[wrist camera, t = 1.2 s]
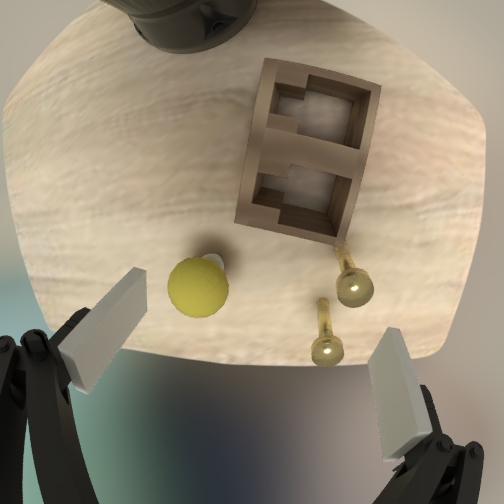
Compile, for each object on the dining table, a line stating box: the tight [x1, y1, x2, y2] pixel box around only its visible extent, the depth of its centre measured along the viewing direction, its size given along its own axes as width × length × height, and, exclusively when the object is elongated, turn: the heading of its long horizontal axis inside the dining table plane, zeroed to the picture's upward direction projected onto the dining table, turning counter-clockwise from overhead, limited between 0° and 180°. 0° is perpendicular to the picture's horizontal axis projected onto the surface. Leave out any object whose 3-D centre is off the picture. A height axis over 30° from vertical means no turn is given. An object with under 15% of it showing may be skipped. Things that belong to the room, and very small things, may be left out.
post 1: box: [311, 298, 344, 367], centre depth 32 cm, size 3×3×10 cm
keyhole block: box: [234, 58, 381, 247], centre depth 26 cm, size 15×10×8 cm, turn 170°
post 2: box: [335, 244, 374, 308], centre depth 29 cm, size 3×3×10 cm
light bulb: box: [168, 253, 229, 318], centre depth 32 cm, size 7×7×10 cm
